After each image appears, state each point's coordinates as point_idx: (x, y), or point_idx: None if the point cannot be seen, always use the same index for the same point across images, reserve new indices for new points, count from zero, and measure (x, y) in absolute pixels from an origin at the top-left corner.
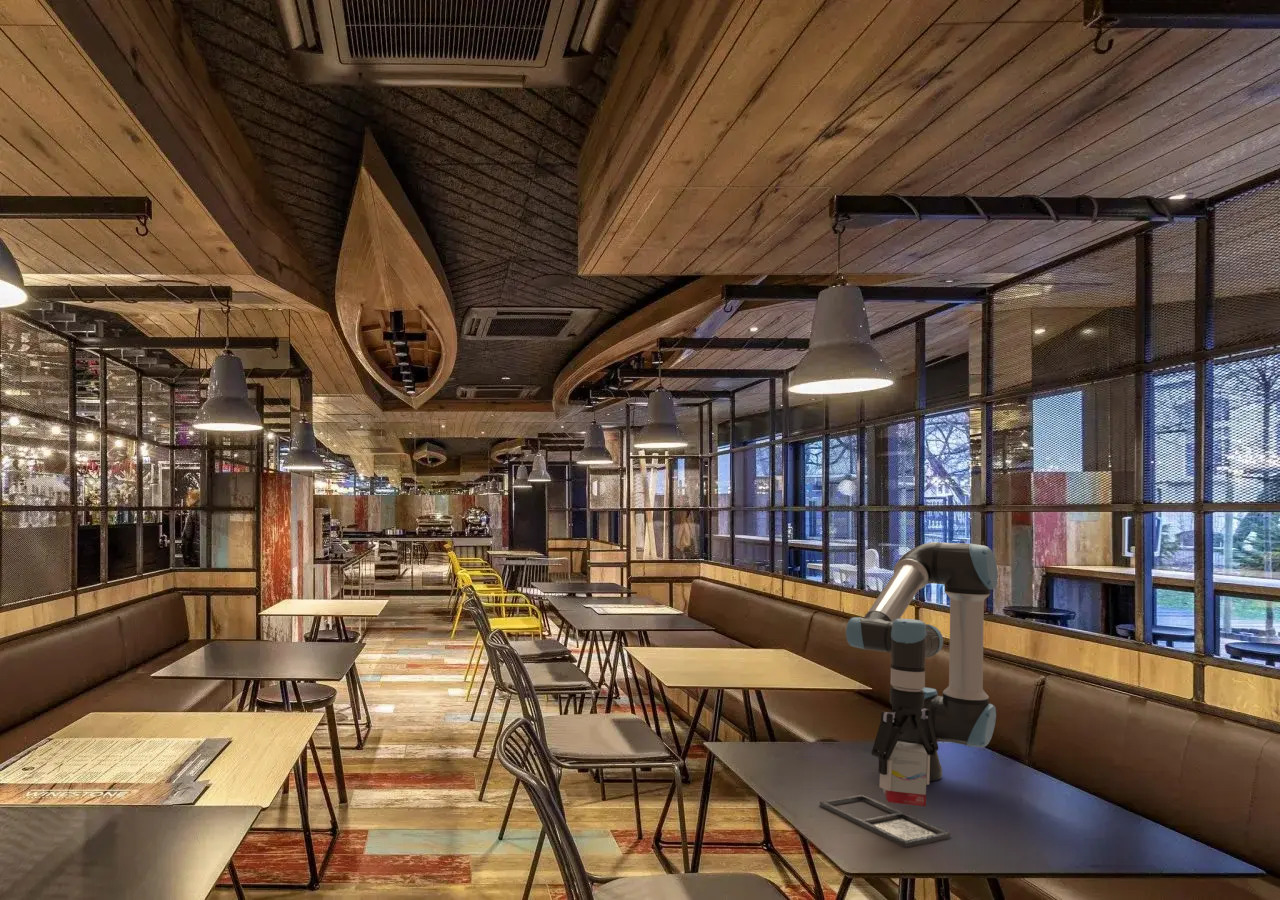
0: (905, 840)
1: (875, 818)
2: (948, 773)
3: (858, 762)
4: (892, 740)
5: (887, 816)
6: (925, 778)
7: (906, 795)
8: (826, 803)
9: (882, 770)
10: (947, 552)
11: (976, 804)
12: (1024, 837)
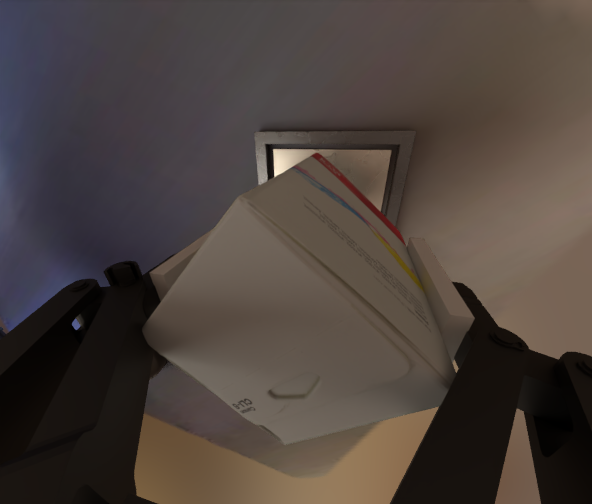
0: (400, 144)
1: None
2: None
3: (184, 390)
4: (498, 477)
5: None
6: (300, 165)
7: (363, 200)
8: None
9: (475, 299)
10: None
11: (103, 232)
12: (91, 59)
